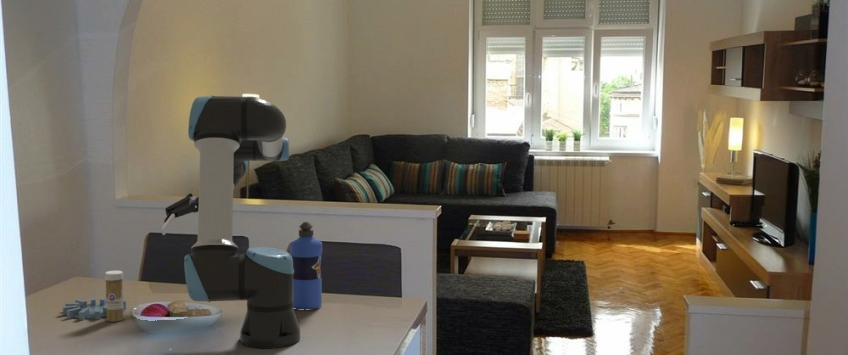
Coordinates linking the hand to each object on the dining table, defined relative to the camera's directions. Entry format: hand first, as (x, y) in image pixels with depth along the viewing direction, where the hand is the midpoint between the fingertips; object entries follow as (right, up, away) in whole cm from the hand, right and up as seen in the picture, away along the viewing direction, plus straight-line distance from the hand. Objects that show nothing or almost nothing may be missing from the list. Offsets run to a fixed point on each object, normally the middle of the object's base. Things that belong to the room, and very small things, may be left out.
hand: (183, 238), depth 235 cm
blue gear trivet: (-23, -20, -8) cm, 32 cm away
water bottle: (+36, -20, +1) cm, 41 cm away
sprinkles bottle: (-14, -22, -15) cm, 30 cm away
